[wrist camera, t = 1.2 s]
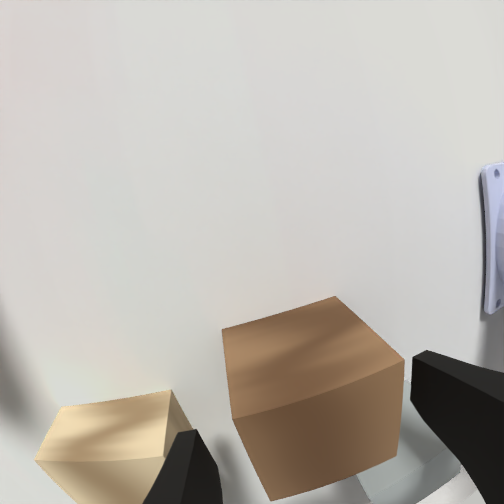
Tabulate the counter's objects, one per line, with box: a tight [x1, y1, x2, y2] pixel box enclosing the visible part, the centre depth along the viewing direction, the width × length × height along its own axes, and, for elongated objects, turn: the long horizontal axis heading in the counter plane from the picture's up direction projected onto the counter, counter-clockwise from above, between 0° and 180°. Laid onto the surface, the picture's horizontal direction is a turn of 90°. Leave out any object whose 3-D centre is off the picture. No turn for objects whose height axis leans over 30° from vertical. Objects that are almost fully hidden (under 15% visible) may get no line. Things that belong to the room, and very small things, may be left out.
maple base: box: [34, 390, 193, 504], centre depth 10 cm, size 6×6×4 cm
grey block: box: [356, 380, 461, 504], centre depth 11 cm, size 4×4×5 cm
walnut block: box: [222, 296, 405, 501], centre depth 10 cm, size 4×4×5 cm
